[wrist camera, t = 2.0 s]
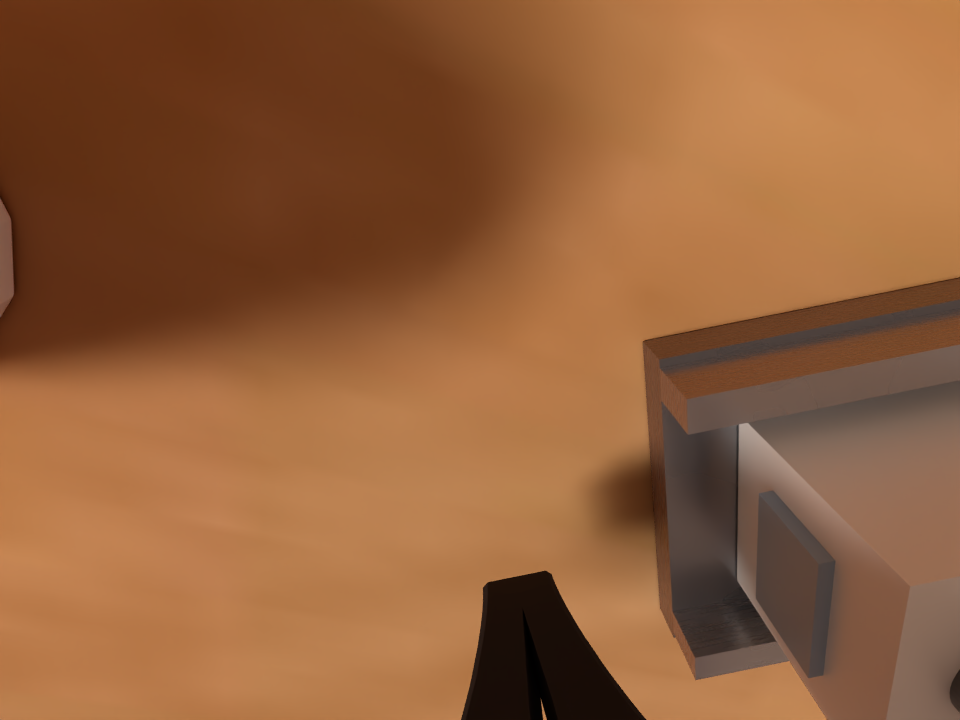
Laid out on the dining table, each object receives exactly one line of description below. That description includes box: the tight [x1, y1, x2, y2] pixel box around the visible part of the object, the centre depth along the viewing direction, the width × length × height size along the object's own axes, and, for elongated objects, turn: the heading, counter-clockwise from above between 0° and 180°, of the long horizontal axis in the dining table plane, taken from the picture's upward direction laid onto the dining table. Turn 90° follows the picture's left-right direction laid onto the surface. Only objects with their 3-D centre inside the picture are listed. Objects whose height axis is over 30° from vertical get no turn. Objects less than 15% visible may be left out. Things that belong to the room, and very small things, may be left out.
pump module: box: [737, 380, 960, 720], centre depth 11 cm, size 5×5×6 cm
